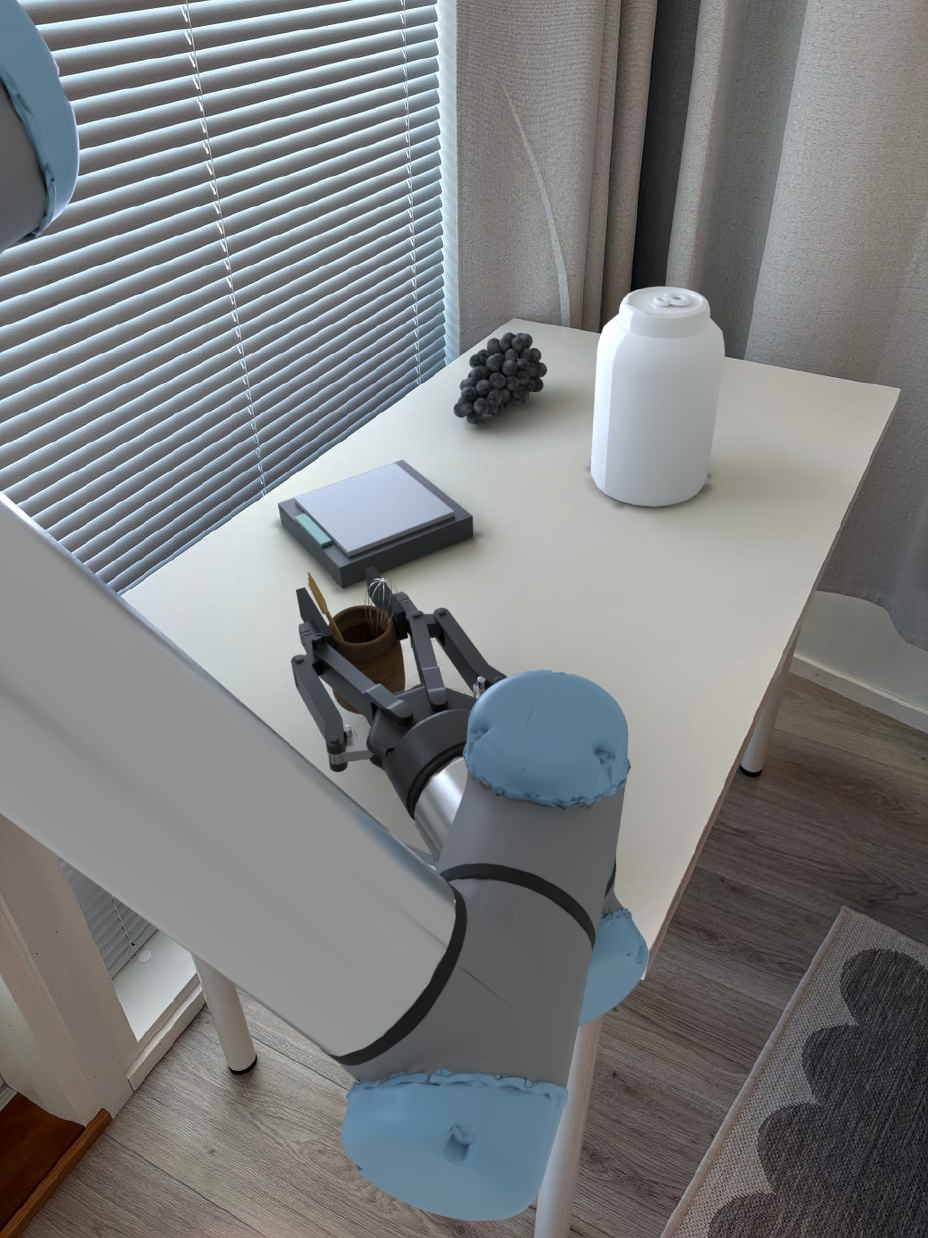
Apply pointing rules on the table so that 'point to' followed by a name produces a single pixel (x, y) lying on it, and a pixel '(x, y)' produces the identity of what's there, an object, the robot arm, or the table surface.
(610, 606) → the table surface
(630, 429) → the can
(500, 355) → the fruit
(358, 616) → the utensil holder
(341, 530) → the scale
